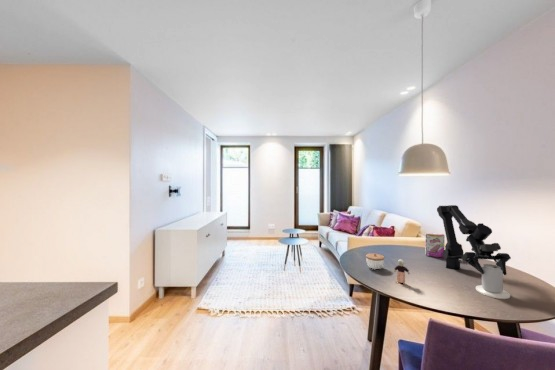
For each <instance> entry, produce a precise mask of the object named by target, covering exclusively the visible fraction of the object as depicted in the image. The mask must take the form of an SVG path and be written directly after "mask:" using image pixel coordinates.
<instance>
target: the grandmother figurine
mask: <svg viewBox="0 0 555 370" xmlns="http://www.w3.org/2000/svg"><path fill="white" fill-rule="evenodd" d="M397 264H398V265H396V266H395V267H394V269H393V273H397V274H396V281H395V283H396V282H398V283H397V284H401V283H403V284H402V285H406V273H407V274H408V275H410V274H411V273H410V271H409V269H408V268H407V267H406V266H405V264H406V262H405V261H404V259H398V260H397Z"/></svg>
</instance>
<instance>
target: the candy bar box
mask: <svg viewBox="0 0 555 370" xmlns="http://www.w3.org/2000/svg"><path fill="white" fill-rule="evenodd" d="M424 243H425V244H424V253H425V256H426V257H434V258H443V259H444V258H445V257H444V256H443V252H444V250H445V234H444V233H437V232H436V233H435V232H424Z"/></svg>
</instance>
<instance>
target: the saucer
mask: <svg viewBox="0 0 555 370" xmlns="http://www.w3.org/2000/svg"><path fill="white" fill-rule="evenodd" d="M475 290H476V292H477V293H479V294H481V295H484V296H485V295H486V296H485V297H488V298H493V299H498V300H508V299H510V298H511V294H510V293H509V292H508V291H506V290H505V289H503V292H501V293H491V292H488V291H486V290H484V289H483V288H482V284H479V285H476V286H475Z"/></svg>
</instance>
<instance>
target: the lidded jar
mask: <svg viewBox="0 0 555 370" xmlns="http://www.w3.org/2000/svg"><path fill="white" fill-rule="evenodd" d="M365 262H366V265H367V266H368V267H369V269H371V268H373V269H380V270H381V269H382V268H383V267H384V265H385V256H384V255H382V254H380V253H379V254H378V253H376V252H373V253H367V254H366V255H365ZM373 269H372V270H373Z"/></svg>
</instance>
